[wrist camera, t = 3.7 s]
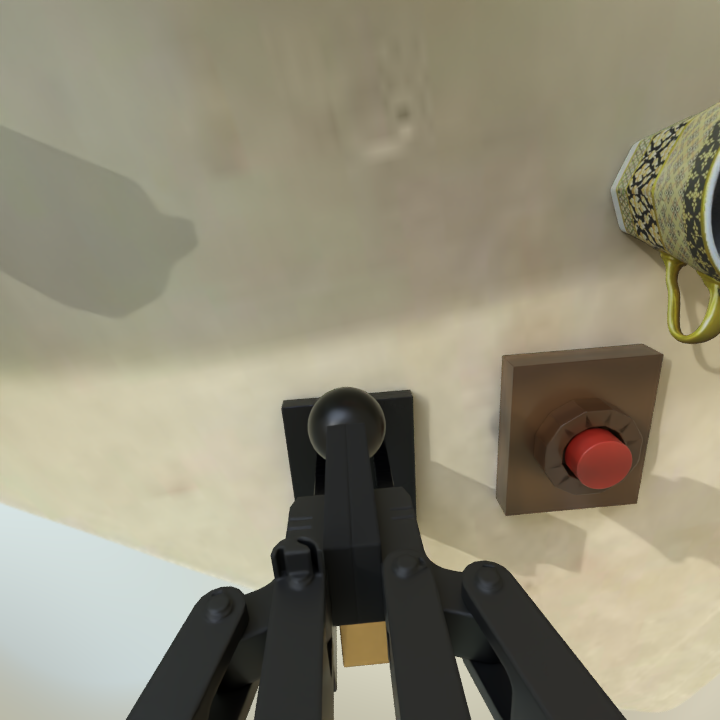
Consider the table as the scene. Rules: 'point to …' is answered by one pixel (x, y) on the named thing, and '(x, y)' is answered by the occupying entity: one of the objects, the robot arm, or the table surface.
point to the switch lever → (360, 407)
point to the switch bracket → (387, 464)
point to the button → (598, 458)
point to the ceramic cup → (677, 208)
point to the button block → (571, 423)
